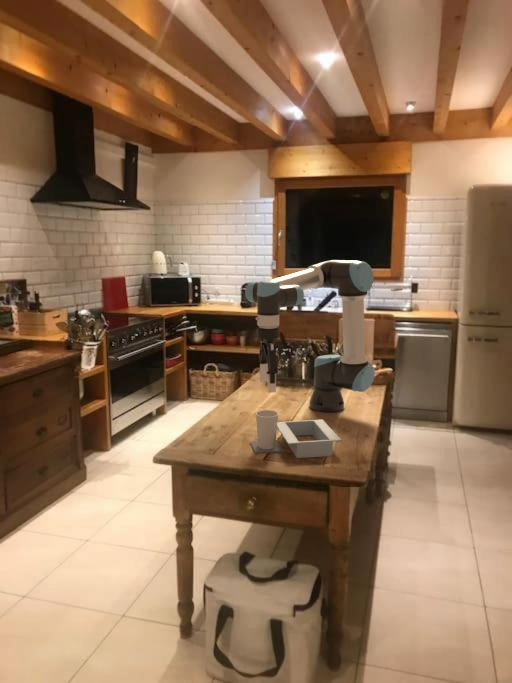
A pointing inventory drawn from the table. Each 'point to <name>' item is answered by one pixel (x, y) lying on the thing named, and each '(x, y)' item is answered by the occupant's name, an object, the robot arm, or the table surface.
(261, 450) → the pad
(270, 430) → the cup
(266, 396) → the table surface
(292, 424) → the rectangular frame
